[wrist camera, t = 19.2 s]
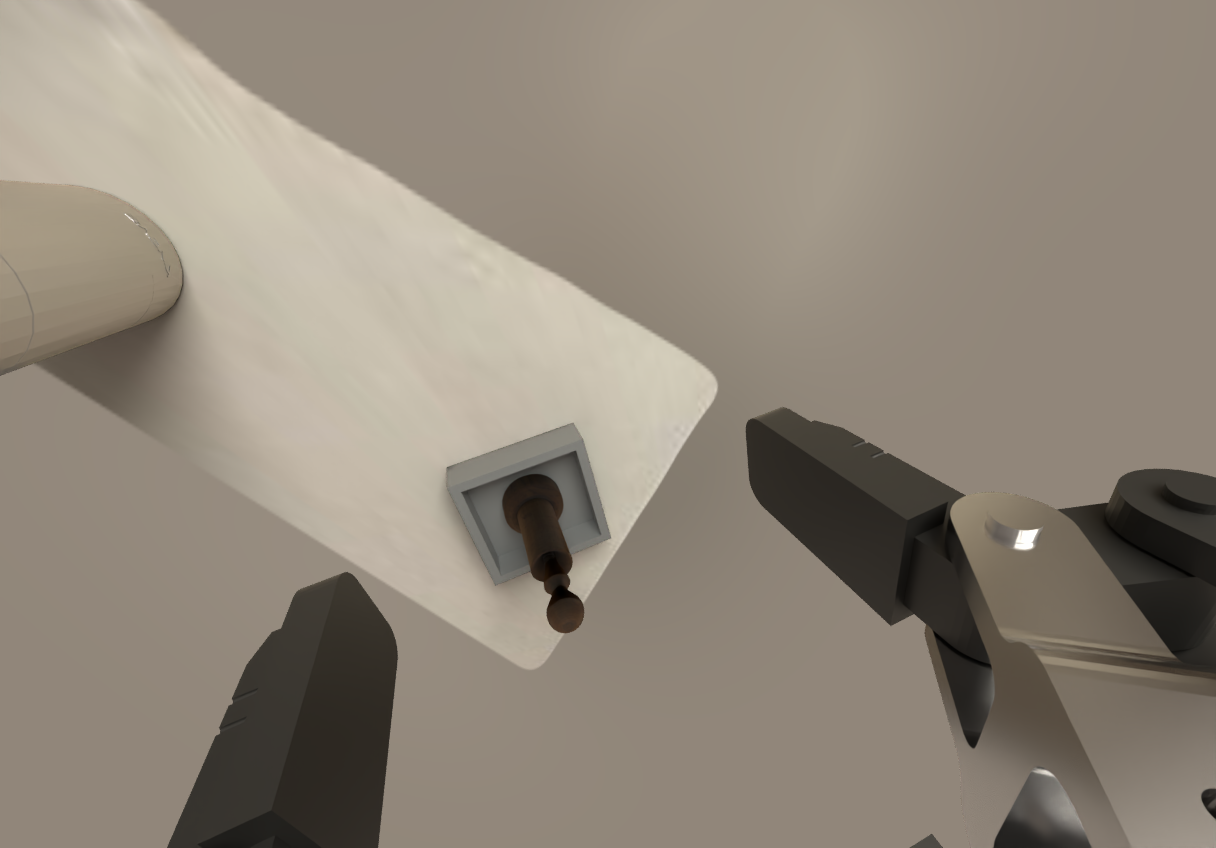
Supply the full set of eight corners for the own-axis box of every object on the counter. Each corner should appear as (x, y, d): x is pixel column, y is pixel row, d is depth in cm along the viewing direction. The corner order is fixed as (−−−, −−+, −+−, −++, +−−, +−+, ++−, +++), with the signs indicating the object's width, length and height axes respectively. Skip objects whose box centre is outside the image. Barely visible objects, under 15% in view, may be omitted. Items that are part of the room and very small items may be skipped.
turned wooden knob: (554, 522, 53) (599, 651, 37) (498, 523, 50) (522, 662, 35) (563, 473, 50) (616, 590, 35) (505, 472, 48) (534, 597, 32)
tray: (492, 561, 53) (495, 585, 50) (446, 467, 46) (447, 487, 43) (600, 517, 56) (611, 538, 52) (573, 422, 49) (582, 438, 45)
